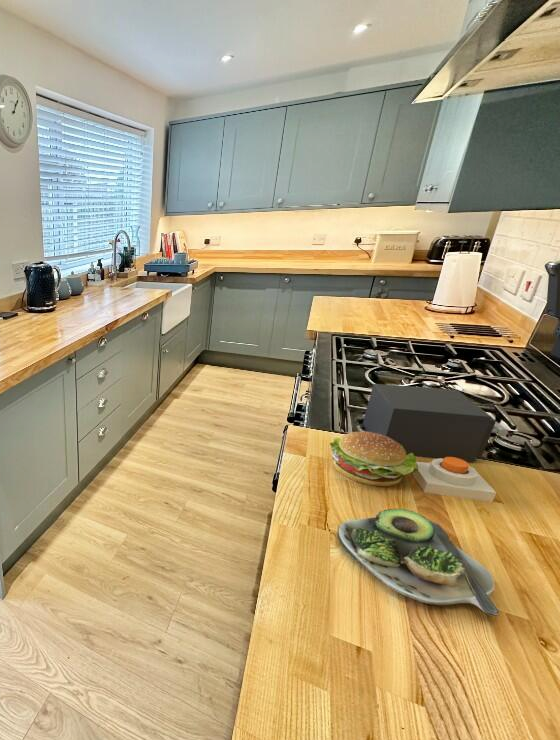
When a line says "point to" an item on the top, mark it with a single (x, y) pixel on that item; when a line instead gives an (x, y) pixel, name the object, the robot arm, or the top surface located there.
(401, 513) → the salad plate
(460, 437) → the dark grey box
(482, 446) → the fryer drawer
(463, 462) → the button
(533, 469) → the top surface
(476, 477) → the block
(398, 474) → the food
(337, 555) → the top surface
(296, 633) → the top surface
